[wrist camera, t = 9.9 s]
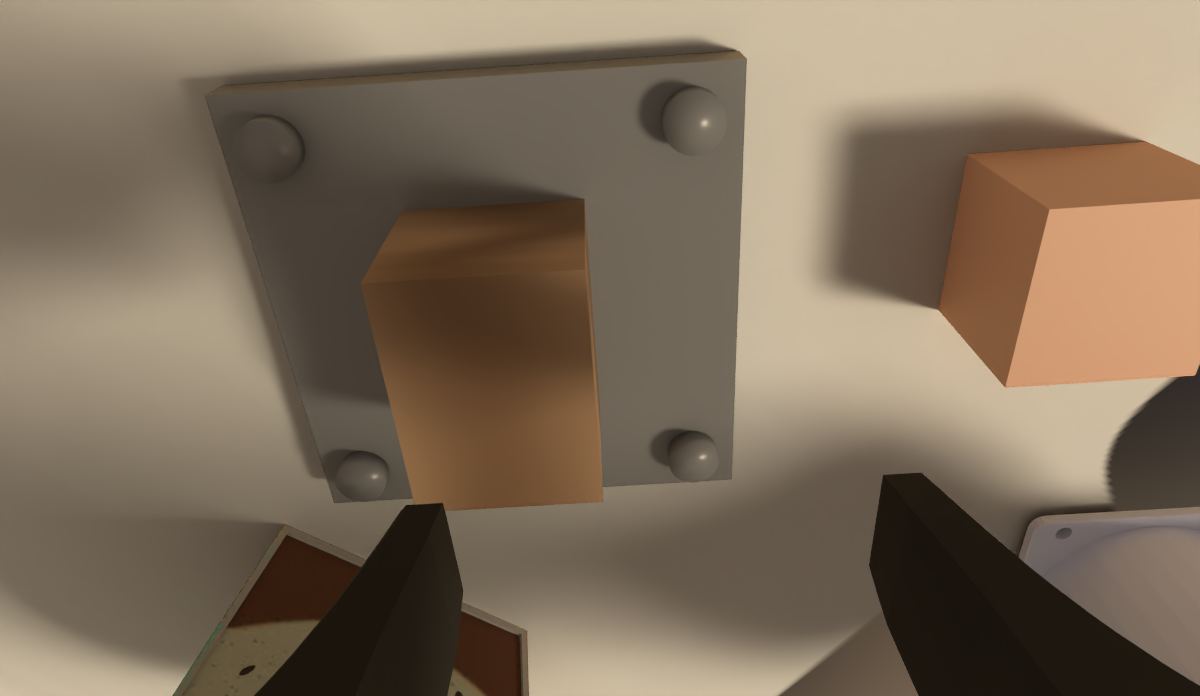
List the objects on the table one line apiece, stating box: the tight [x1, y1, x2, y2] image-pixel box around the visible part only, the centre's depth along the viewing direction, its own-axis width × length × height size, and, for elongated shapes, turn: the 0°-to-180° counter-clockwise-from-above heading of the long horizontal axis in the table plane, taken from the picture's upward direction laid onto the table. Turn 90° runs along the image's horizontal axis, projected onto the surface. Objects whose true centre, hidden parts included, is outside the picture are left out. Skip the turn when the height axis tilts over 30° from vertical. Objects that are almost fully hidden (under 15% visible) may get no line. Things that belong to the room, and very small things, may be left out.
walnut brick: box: [361, 199, 603, 511], centre depth 18 cm, size 4×6×4 cm
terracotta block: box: [939, 141, 1200, 388], centre depth 18 cm, size 4×4×4 cm
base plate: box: [205, 51, 747, 503], centre depth 20 cm, size 12×12×2 cm
